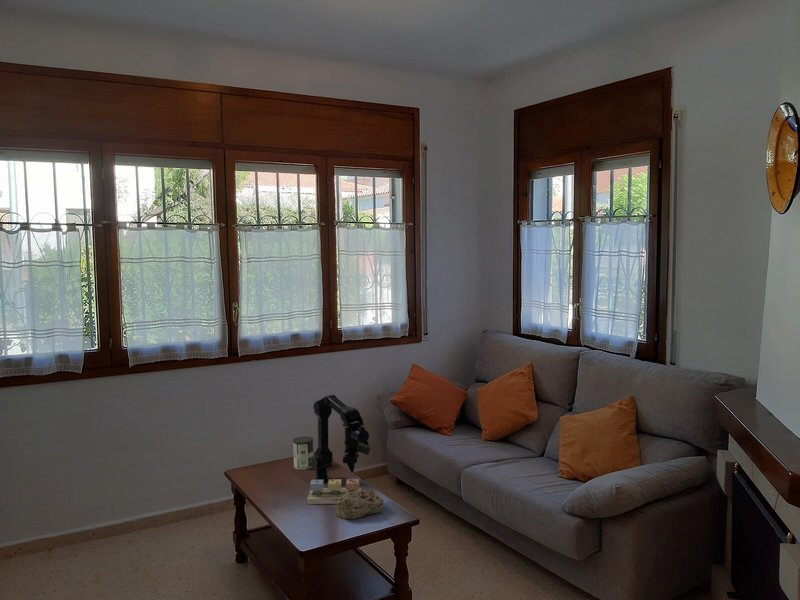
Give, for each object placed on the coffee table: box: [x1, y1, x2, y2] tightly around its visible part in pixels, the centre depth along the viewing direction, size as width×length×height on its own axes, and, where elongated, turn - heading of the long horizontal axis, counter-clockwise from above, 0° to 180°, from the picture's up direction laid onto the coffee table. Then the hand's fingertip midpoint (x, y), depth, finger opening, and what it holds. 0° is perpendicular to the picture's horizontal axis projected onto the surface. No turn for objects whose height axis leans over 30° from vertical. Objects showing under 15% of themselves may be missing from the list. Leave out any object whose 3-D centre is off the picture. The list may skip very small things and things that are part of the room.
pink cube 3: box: [345, 478, 360, 492], centre depth 290 cm, size 6×6×6 cm
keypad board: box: [306, 487, 363, 505], centre depth 290 cm, size 12×23×2 cm, turn 89°
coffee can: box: [292, 436, 315, 470], centre depth 333 cm, size 10×10×14 cm
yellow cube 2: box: [327, 478, 343, 495], centre depth 290 cm, size 6×6×6 cm
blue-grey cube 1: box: [309, 479, 325, 495], centre depth 290 cm, size 6×6×6 cm
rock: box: [335, 489, 385, 520], centre depth 274 cm, size 21×14×10 cm
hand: (352, 472), depth 289 cm, fingers closed
